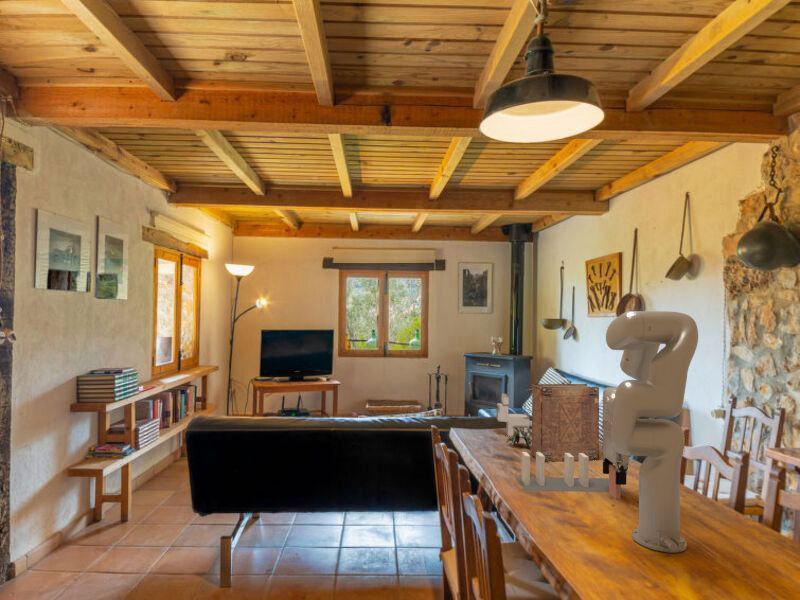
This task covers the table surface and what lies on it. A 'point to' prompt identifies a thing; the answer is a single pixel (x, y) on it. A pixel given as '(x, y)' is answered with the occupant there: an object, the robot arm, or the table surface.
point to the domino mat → (560, 485)
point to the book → (565, 421)
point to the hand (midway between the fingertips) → (614, 478)
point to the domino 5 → (614, 483)
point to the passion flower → (520, 436)
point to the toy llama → (511, 417)
